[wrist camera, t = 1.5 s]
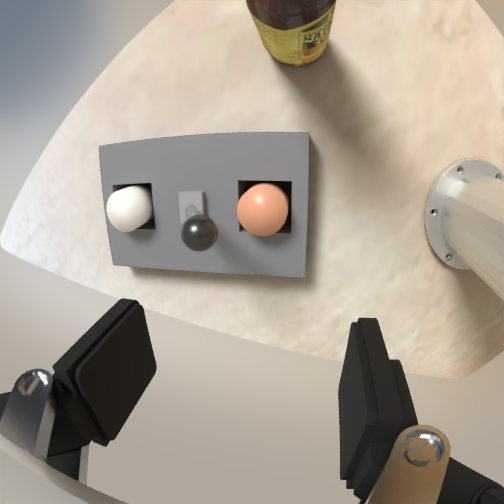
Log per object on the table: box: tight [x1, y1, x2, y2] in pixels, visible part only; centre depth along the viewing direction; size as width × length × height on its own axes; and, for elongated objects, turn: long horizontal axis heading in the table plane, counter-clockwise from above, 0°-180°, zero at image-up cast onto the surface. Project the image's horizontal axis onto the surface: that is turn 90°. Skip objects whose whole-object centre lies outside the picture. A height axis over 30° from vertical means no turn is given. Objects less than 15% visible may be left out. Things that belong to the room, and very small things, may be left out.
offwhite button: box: [107, 184, 154, 232], centre depth 31 cm, size 4×4×4 cm
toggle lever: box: [181, 205, 218, 252], centre depth 24 cm, size 3×3×9 cm
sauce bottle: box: [246, 0, 336, 67], centre depth 16 cm, size 6×6×20 cm
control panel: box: [99, 132, 309, 278], centre depth 31 cm, size 22×14×4 cm, turn 91°
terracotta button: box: [237, 182, 289, 236], centre depth 29 cm, size 4×4×4 cm
